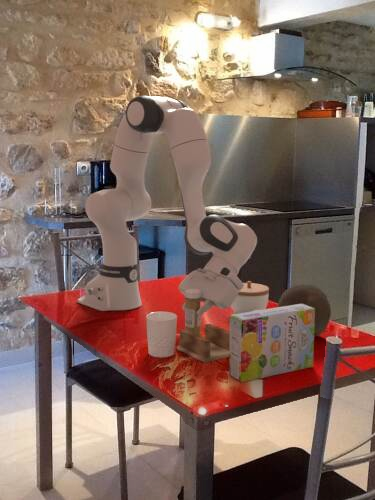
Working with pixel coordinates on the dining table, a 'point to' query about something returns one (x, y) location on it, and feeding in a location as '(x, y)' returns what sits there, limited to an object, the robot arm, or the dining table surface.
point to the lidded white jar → (251, 298)
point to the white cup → (161, 333)
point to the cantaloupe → (309, 303)
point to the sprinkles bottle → (192, 310)
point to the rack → (206, 344)
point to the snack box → (271, 341)
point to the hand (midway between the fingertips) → (191, 312)
